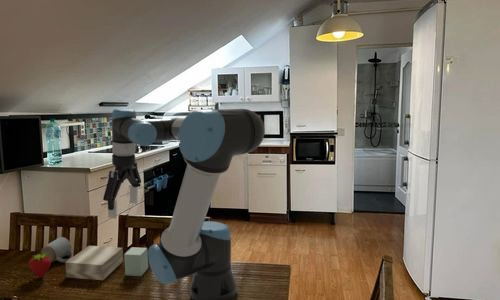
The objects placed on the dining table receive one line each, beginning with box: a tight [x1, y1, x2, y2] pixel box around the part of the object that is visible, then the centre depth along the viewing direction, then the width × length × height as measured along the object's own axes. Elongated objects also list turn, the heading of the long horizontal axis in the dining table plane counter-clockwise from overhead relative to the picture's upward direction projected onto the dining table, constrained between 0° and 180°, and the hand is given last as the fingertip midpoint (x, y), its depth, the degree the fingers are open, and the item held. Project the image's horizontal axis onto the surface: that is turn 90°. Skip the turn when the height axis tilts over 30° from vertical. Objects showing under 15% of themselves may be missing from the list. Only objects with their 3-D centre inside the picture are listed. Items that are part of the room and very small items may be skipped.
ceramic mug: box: [41, 236, 74, 264], centre depth 134 cm, size 11×8×8 cm
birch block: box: [64, 245, 124, 281], centre depth 127 cm, size 14×14×6 cm
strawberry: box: [28, 251, 52, 279], centre depth 120 cm, size 6×8×10 cm
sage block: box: [123, 246, 149, 277], centre depth 125 cm, size 6×6×8 cm
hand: (123, 210), depth 123 cm, fingers open, 13 cm apart
